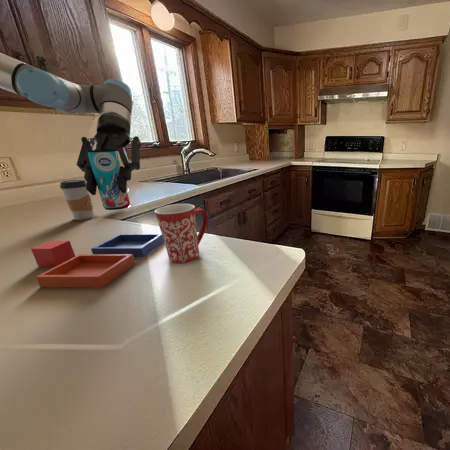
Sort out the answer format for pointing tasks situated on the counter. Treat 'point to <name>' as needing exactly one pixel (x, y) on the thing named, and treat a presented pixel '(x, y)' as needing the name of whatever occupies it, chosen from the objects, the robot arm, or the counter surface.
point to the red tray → (86, 270)
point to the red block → (53, 253)
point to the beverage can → (108, 178)
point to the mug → (181, 231)
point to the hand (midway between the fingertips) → (106, 190)
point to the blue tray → (129, 244)
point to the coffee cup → (78, 198)
